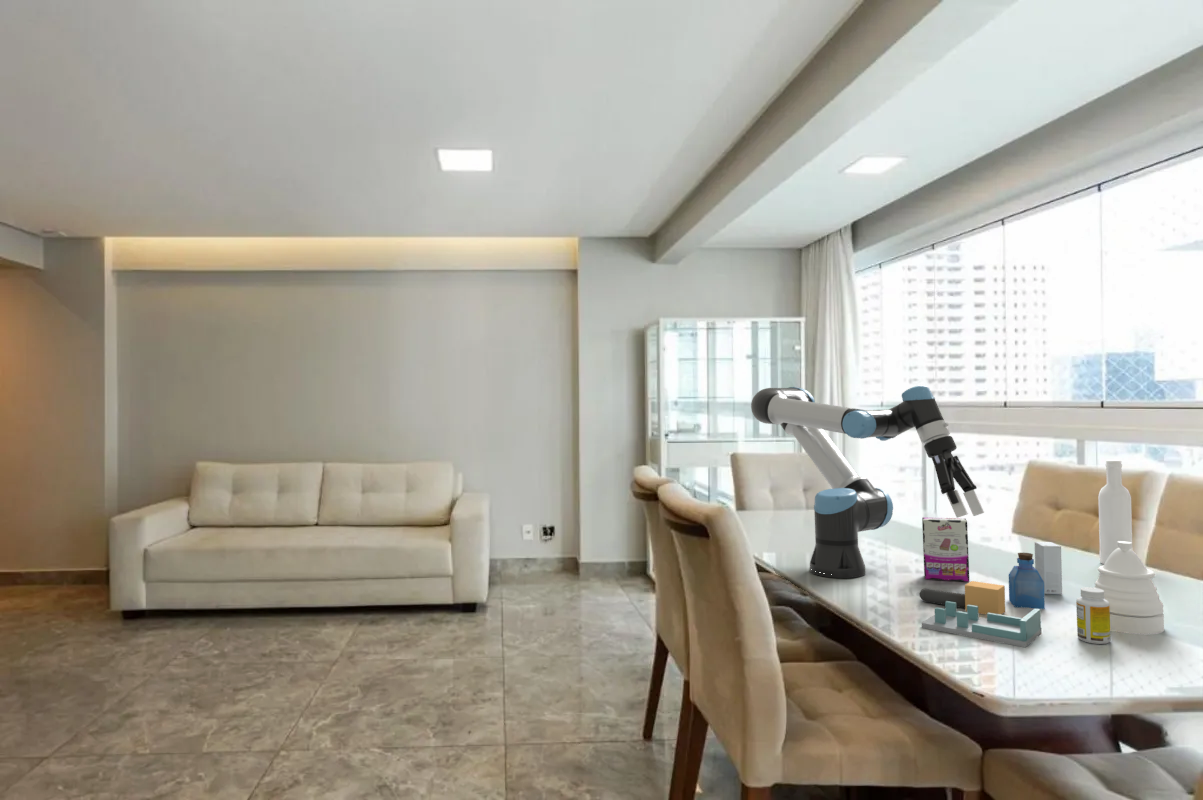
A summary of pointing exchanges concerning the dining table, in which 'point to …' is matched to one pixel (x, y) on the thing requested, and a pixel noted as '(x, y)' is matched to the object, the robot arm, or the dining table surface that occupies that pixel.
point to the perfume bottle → (1026, 584)
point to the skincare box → (1049, 566)
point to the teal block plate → (986, 625)
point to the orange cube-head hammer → (971, 597)
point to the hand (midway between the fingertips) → (970, 515)
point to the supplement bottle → (1093, 616)
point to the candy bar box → (945, 549)
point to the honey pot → (1130, 593)
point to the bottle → (1114, 511)
